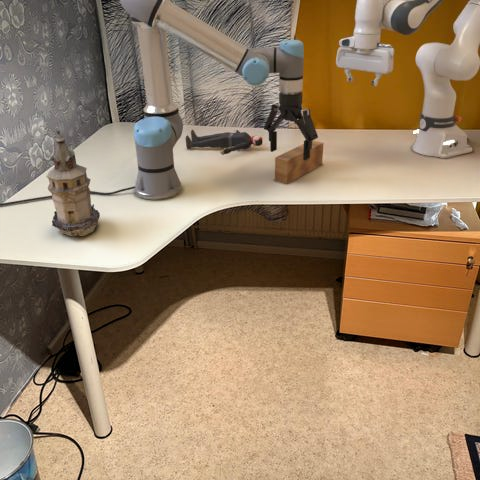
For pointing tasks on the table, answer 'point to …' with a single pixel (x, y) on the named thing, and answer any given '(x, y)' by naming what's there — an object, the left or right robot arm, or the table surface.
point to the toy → (224, 141)
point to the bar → (297, 162)
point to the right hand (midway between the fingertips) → (362, 83)
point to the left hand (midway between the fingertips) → (289, 154)
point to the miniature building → (70, 193)
